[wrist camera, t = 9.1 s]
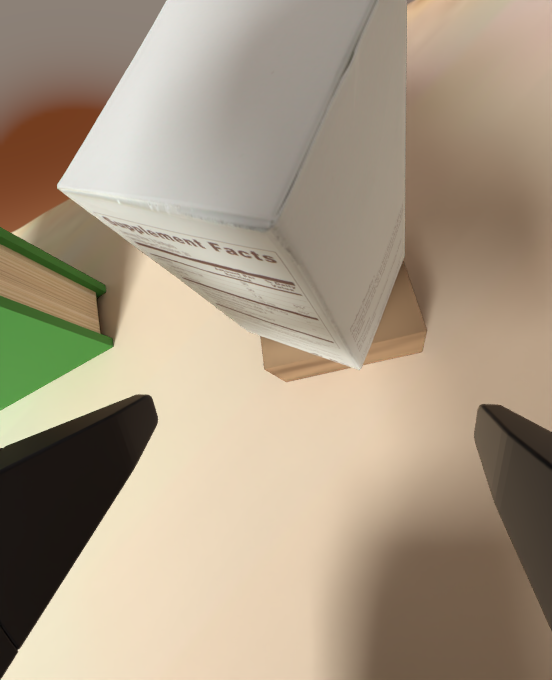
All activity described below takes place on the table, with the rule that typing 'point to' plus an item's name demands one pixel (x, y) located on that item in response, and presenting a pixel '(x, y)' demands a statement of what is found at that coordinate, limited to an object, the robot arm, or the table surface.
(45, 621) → the table surface
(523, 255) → the table surface
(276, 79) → the supplement box
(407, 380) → the table surface
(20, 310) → the hardback book
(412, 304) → the stand block
